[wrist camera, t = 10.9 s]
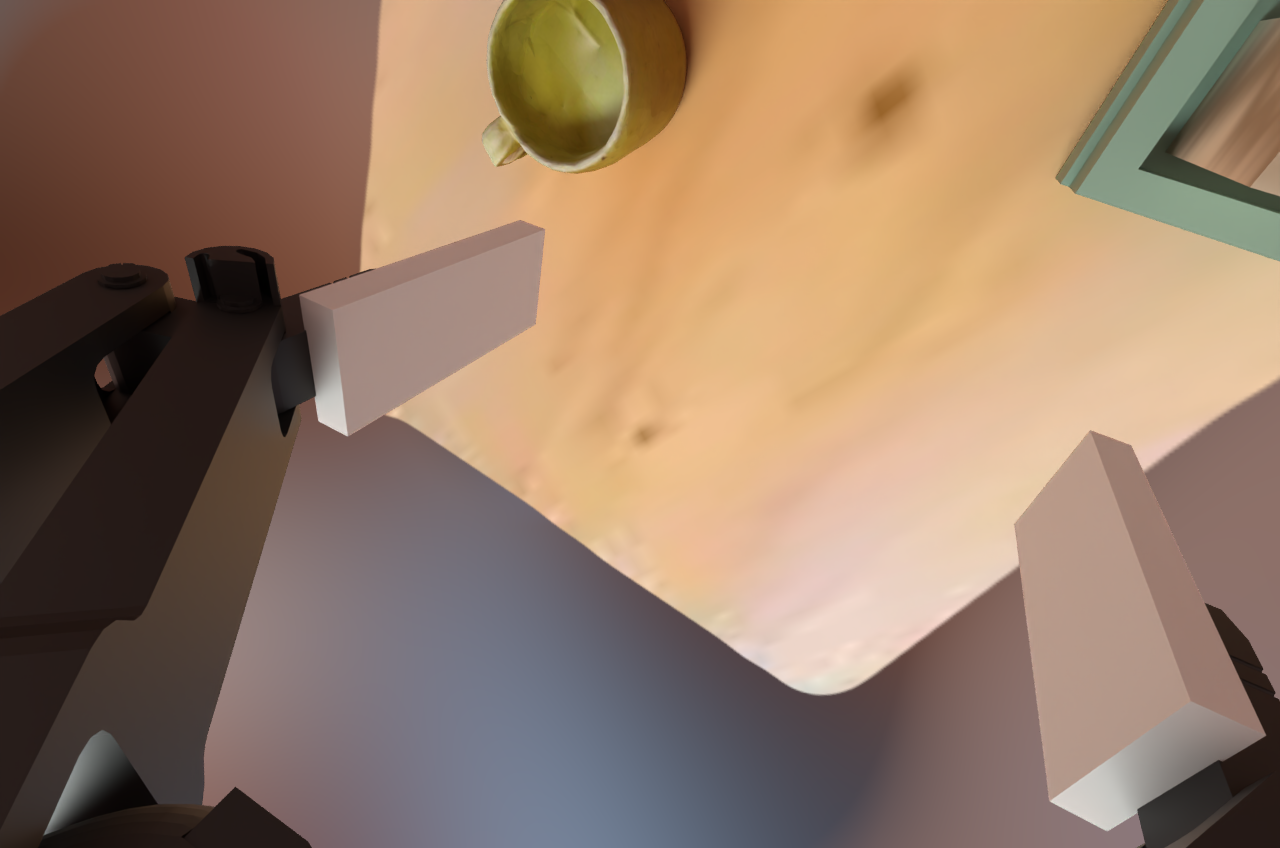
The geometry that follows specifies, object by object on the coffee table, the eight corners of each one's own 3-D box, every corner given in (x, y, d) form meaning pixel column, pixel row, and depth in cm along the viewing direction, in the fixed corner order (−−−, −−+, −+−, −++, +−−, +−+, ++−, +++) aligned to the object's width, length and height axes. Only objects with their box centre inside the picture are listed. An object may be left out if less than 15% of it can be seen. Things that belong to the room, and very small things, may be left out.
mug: (655, -112, 30) (552, -50, 25) (734, 89, 36) (662, 174, 30) (509, 0, 38) (408, 65, 33) (591, 150, 44) (516, 225, 38)
